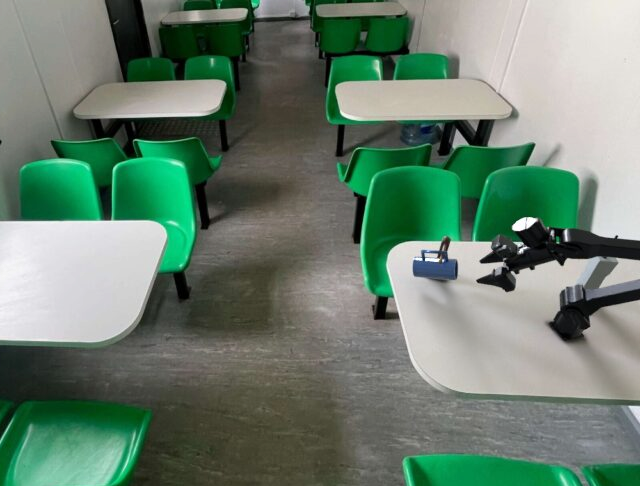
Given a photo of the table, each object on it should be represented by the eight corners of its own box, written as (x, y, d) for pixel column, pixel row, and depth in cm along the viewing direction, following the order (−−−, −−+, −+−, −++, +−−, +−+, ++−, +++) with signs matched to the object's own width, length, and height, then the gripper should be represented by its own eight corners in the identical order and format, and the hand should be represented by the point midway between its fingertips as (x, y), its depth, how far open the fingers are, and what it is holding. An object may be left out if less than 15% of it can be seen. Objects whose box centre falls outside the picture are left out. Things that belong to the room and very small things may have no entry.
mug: (418, 268, 141) (458, 271, 134) (414, 280, 136) (455, 284, 129) (414, 243, 136) (455, 245, 129) (409, 255, 132) (452, 258, 125)
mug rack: (446, 272, 144) (458, 234, 134) (439, 299, 134) (452, 260, 124) (428, 266, 146) (439, 229, 136) (420, 293, 136) (431, 254, 126)
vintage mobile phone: (593, 301, 131) (633, 240, 116) (575, 299, 132) (612, 238, 117) (588, 293, 134) (626, 232, 119) (571, 291, 135) (606, 230, 120)
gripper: (517, 215, 121) (466, 234, 132) (514, 254, 108) (458, 271, 119) (539, 243, 122) (487, 260, 133) (539, 285, 109) (481, 300, 120)
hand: (478, 271), depth 127 cm, fingers open, 9 cm apart
